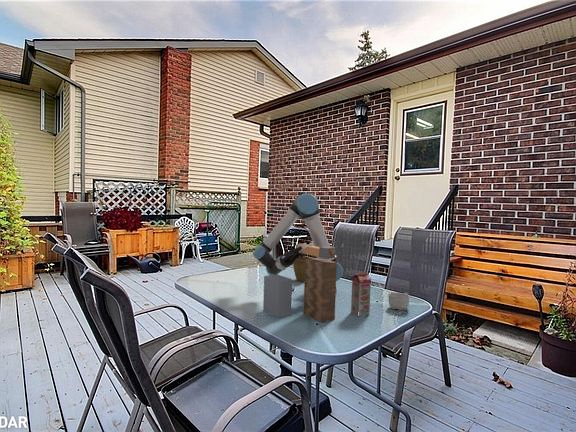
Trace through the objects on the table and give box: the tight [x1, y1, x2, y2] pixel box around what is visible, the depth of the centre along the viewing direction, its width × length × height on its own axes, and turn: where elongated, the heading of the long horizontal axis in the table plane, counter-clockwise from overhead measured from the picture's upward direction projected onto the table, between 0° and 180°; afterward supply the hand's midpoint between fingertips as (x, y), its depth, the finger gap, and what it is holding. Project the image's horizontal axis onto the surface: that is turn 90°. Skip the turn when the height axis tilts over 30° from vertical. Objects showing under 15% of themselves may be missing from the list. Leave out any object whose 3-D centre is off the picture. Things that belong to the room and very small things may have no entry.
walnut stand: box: [302, 257, 337, 324], centre depth 163 cm, size 14×8×28 cm, turn 38°
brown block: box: [295, 243, 336, 259], centre depth 166 cm, size 24×6×5 cm, turn 38°
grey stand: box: [262, 274, 293, 319], centre depth 167 cm, size 13×8×18 cm, turn 38°
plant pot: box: [292, 256, 312, 283], centre depth 238 cm, size 15×15×16 cm
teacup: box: [387, 291, 410, 311], centre depth 181 cm, size 14×11×8 cm
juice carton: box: [350, 270, 372, 317], centre depth 169 cm, size 7×7×22 cm
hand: (309, 244), depth 169 cm, fingers closed on brown block, 4 cm apart
